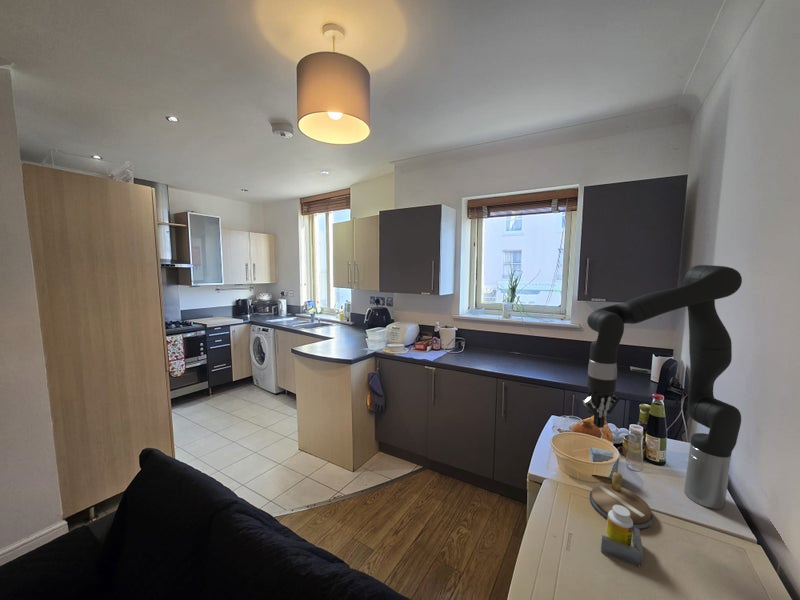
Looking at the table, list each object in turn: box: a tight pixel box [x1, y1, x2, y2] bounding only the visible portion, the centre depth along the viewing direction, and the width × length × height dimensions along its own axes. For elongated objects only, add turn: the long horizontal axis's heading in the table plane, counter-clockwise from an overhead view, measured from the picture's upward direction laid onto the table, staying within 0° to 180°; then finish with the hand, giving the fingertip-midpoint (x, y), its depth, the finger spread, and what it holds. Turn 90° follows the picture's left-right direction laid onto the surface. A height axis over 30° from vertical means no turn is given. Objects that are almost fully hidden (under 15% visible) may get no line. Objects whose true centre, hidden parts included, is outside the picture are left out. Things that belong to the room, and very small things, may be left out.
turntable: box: [591, 472, 652, 525], centre depth 97 cm, size 15×15×6 cm
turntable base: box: [589, 490, 654, 531], centre depth 98 cm, size 16×16×1 cm
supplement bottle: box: [605, 505, 633, 546], centre depth 85 cm, size 6×6×10 cm
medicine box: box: [588, 446, 620, 480], centre depth 112 cm, size 8×4×9 cm, turn 71°
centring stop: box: [600, 528, 644, 568], centre depth 82 cm, size 12×6×4 cm, turn 104°
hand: (598, 426), depth 100 cm, fingers closed
